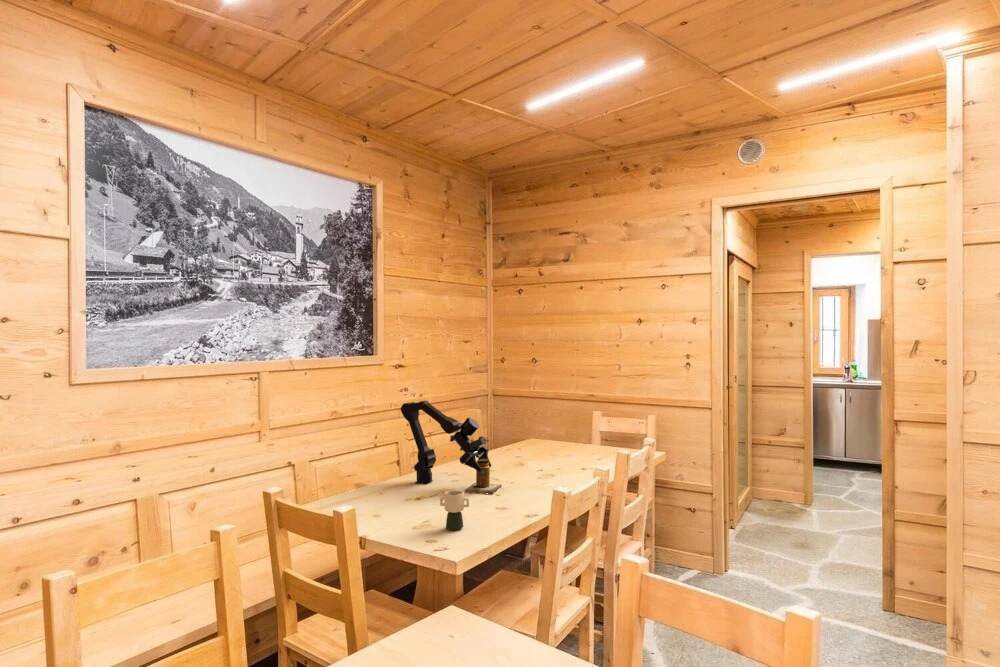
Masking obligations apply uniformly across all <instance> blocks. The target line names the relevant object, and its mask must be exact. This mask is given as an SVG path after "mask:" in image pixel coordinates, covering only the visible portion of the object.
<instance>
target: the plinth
mask: <svg viewBox="0 0 1000 667" xmlns="http://www.w3.org/2000/svg"><path fill="white" fill-rule="evenodd" d="M475 485H476V482H474V483H472V484H471V485H470V486H468V487H466V488H465V489H464V493H467V492H475V493H474V494H480V493H488V494H487V495H494V494H495V493H497V490H498V489H499V488H500V489H502V487H503V486H502V484H499V483H497V484H496V483H490V485H492V486H491V487H489V488H487V489H476V488H471V487H473V486H475ZM500 489H499V490H500ZM499 490H498V491H499ZM494 492H495V493H494ZM493 493H494V494H493Z"/></svg>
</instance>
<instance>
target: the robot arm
mask: <svg viewBox="0 0 1000 667" xmlns="http://www.w3.org/2000/svg"><path fill="white" fill-rule="evenodd" d="M420 411H423V413H425V414H427V415H428V416H429V417H431V418H432V419H433V420H434V421H436V422H437V423H438V424H439V426H440V427H441V429H442V431H444V432H445V433H446V434H449V435H450V440H449V442H450V443H453V442H456V443H457V444H458V446H459V450H460V451H463V452H464V453H463V454H462V455H461V456H460V457H459V463H460V464H461V465H464V466H467V467H470V468H472V469H474V470H475V471H476V470H478V471H480V472H481V471H482V469H481V467H480V466H479V464H478V463H477V460H479V459H487V460H489V467H490V468H491V467H492V463H491V461H490V458H489V455H488V454H489V450H490V448H489V447H488V446H487V440H488V439H487V438H486V437H485V436H484V435H481V436H479V437H478V439H476V440H474V439H470V437H472V436H473V435H474V434H475V432H477V430H478V429H479V428H480V424H479V423H478V421H477V420H475V419H473V418H471V417H470V416H469V417H466V419H465V420H464V422H459V420H456V419H455V418H453V417H449V416H447V415H446V414H444V413H443V412H442V411H440V409H438V408H436V407H435V406H434V405H433V404H431V403H430V402H429V401H428V400H421V401H418V402H414V401H412V402H411V401H410V402H404V403H403V404H402V405H401V407H400V412H401V414H402V416H403V418H404V419H405V420H406V421H407V422H408V424H409V427H410V430H411V433H412V436H413V439H414V442H415V444H416V447H417V462H416V463H415V464H414V466H413V469H414V471H416V481H415V482H414V484H420V483H423V484H422V485H428V484H430V483H432V482H433V471H432V469H433V467H434V465H435V464H436V463H437V462H436V461H437V455H436V453H435V448H430V447H429V446H428V443H427V439H426V436H425V434H424V430H423V429H422V425H421V422H420V420H419V416H420ZM451 434H454V435H451ZM476 458H478V459H477V460H476Z"/></svg>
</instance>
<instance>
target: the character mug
mask: <svg viewBox="0 0 1000 667" xmlns="http://www.w3.org/2000/svg"><path fill="white" fill-rule="evenodd" d="M443 500H444V503H443ZM465 502H466V503H465ZM439 506H441V507H444V511H445V512H447V515H446V521H445V522H446V523H445V527H446V529H447V530H451V531H454V530H460V529H461V528H462V529H463V528H464V520H463V514H462V512H463V511H464V509H465V508H469V507H470V498H469V497H465V491H463V490H461V489H451V490H447V491H445V492H444V496H440V497H439Z"/></svg>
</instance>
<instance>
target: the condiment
mask: <svg viewBox="0 0 1000 667" xmlns="http://www.w3.org/2000/svg"><path fill="white" fill-rule="evenodd" d="M478 459H479V458H478ZM478 459H477V460H476V461H477V463H478V464H479V466H480V467H481V469H482V471H481V472H480V471H478V470H476V469H475V472H476V474H475V475H476V476H475V477H476V478H475V480H476V481H475V483H476V485H475V486H473V487H471V488H476V489H487V488H489V487H491V486H492V485H490V484H491V483H490V480H491V479H490V472H491V471H490V470H491V469H490V468H491V467H489V461H490V459H489V460H487V459H479V460H478Z"/></svg>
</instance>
